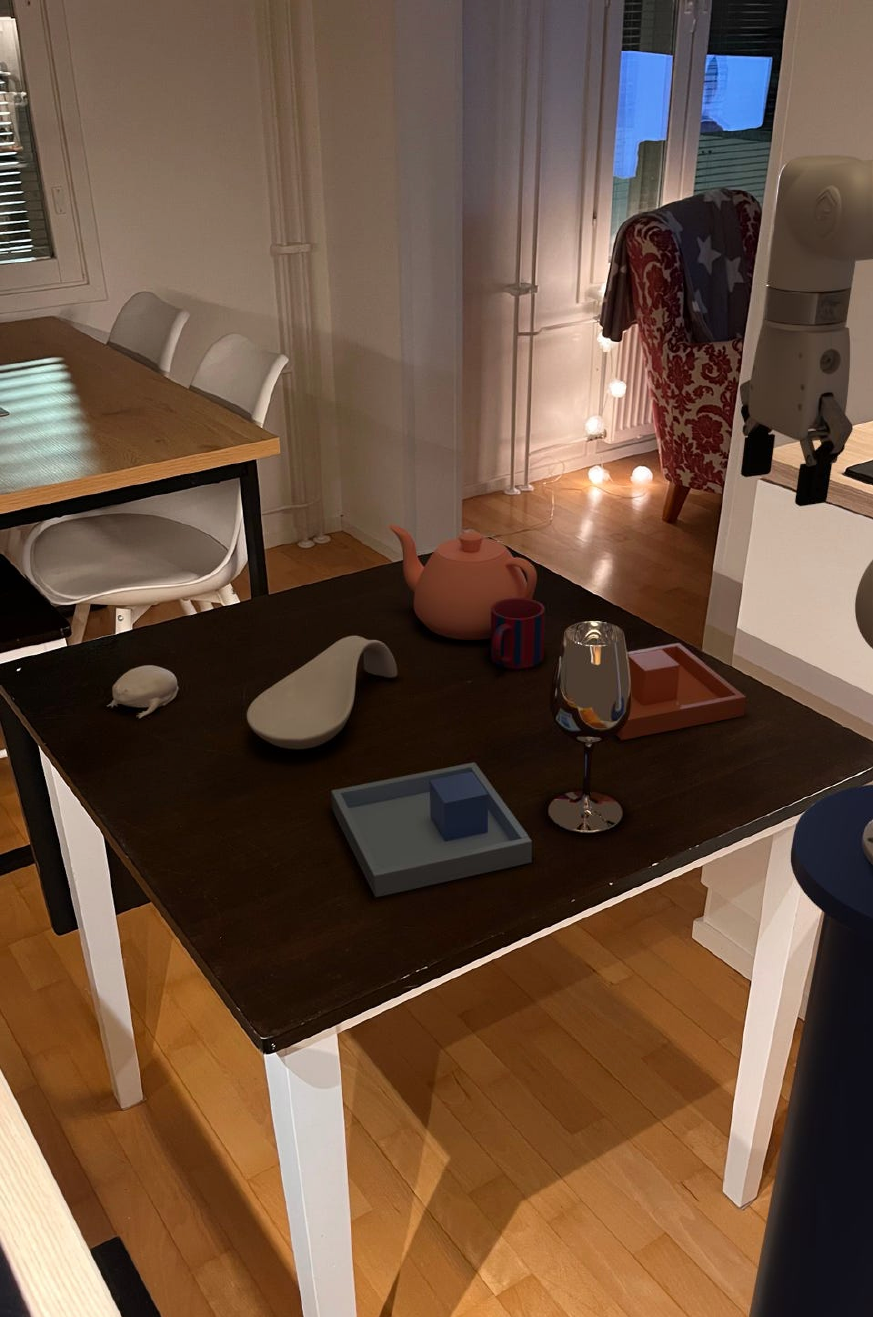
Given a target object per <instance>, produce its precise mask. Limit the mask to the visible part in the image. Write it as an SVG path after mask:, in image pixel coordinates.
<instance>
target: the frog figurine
mask: <svg viewBox="0 0 873 1317" xmlns="http://www.w3.org/2000/svg"><path fill="white" fill-rule="evenodd" d="M178 691H179V685H178V679H177V677H176V676H175V674H174V673H173V672H172V671H170V670H168V669H166V668H163V667H161V666H158V665H153V664H152V665H151V664H149V665H141V666H137V667H135V668H130V669H129V670H128V671H126V672H125V673H124V674H122V675H121V676H120V677H119V678H118V679H117V680H116V682H115V683H114V684H113V685H112V688H111V693H112V698H113V700H112V701H111V702H110V703H109V704H108V705H106V707H111V708H113V707H114V706H115V707H118V705H123V706H126V707H132V708H147V710H142V711H141V712H137V713H136V714H137V715H136V716H135V717H137V718H138V719H141V718H143V717H145V716H147V715H150V714H151V713H153V712H155V710H157V708H159V707H161V706H163V707H164V706H166V705H167V704H168V703H170V702H171V701H173V700H174V699H175V698H176V697H177V695H178Z"/></svg>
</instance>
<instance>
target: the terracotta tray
mask: <svg viewBox="0 0 873 1317" xmlns="http://www.w3.org/2000/svg"><path fill="white" fill-rule="evenodd" d="M656 650H663V651H664V652H665V653H666V654H667V655H669V656H670V657H671V658H672V659H673V660H675V661H676V662H677V663H678V664H679V665H680V668H679V679H678V690H677V699H674V700H669V701H663V702H658V703H653V704H648V705H642V704H641V703H639V702H638V701H637V700H636V699H635V698H634V697H633V696H632V707H631V713H630V715H629V718H628V720H627V722H626V724H625V725H624V726H623V728H622V729H621V730H620V731H619V732H618V733H617V734H616V735H615V736H617V737H618V738H619V739H620V741H624V740H629V739H635V738H639V737H640V738H641V737H645V736H649V735H656V734H660V733H664V732H671V731H675V730H680V729H685V728H690V727H695V726H699V725H704V724H705V725H706V724H710V723H715V722H718V721H725V720H730V719H735V718H739V717H744V716H745V708H746V700H747V696H746V695H744V694H743V693H741V691H740V690H738V689H737V688H736V687H734V686H733V685H732V684H731V683H729V682H728V681H727V680H726V679H724V678H723V677H722V676H721V675H720V674H718V673H717V672H716V671H715V670H713V669H712V668H711V667H710V666H708V665H707V664H706V663H705V662H703V660H701V659H700V658H699V657H698V656H696V655H695V654H694V653H693V652H691V651H690V650H689V649H687V648H686V647H685V646H684V645H683V644H682V643H680V642H676V643H671V644H665V645H659V646H654V647H653V646H652V647H647V648H641V649H637V650H631V651H627V653H628V655H633V654H639V653H645V652H650V651H656Z"/></svg>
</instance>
